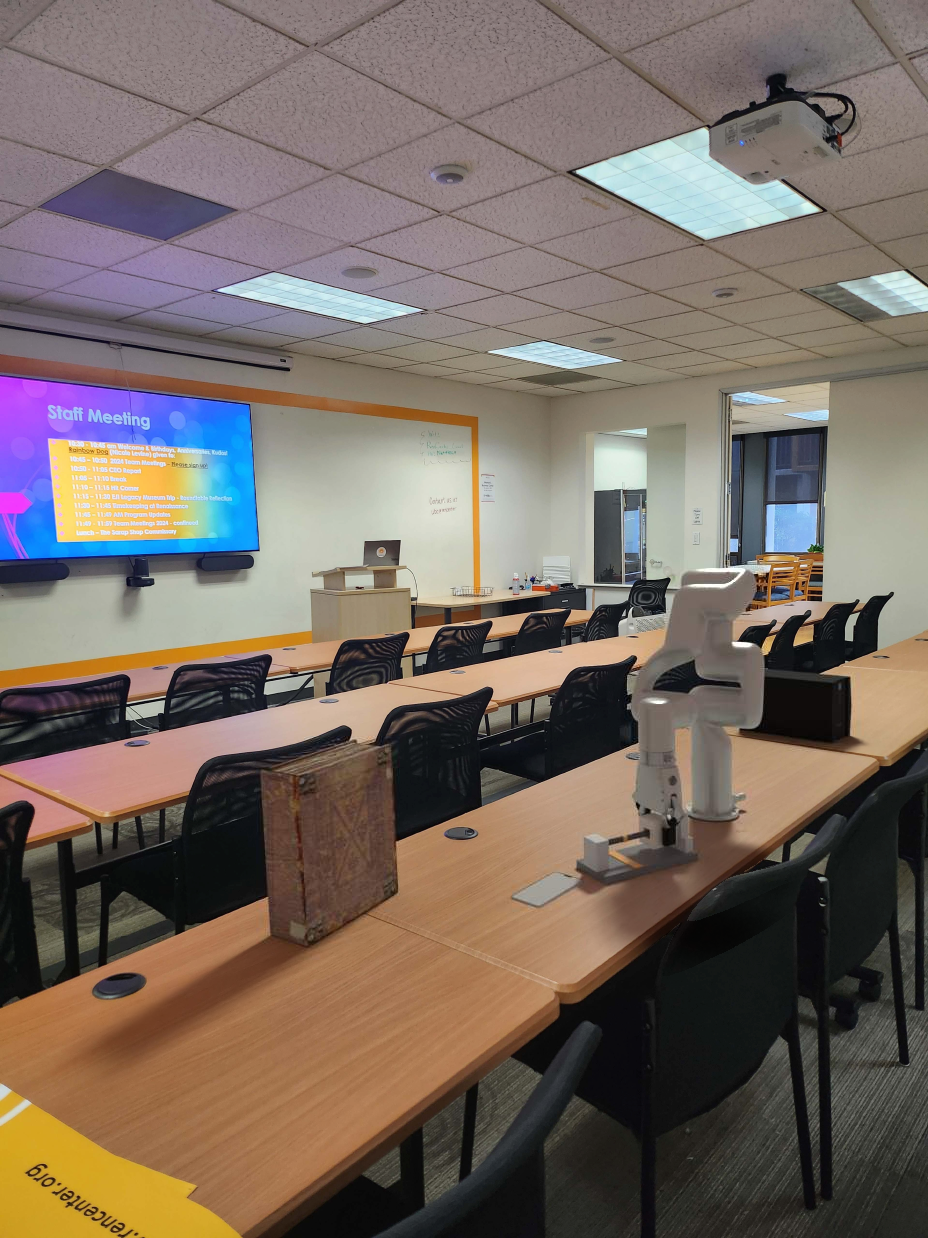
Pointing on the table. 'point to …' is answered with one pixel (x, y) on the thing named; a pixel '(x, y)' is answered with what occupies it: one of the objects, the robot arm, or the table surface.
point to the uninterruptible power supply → (805, 706)
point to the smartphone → (547, 889)
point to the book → (328, 839)
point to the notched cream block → (652, 829)
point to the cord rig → (634, 855)
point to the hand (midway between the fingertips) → (658, 839)
